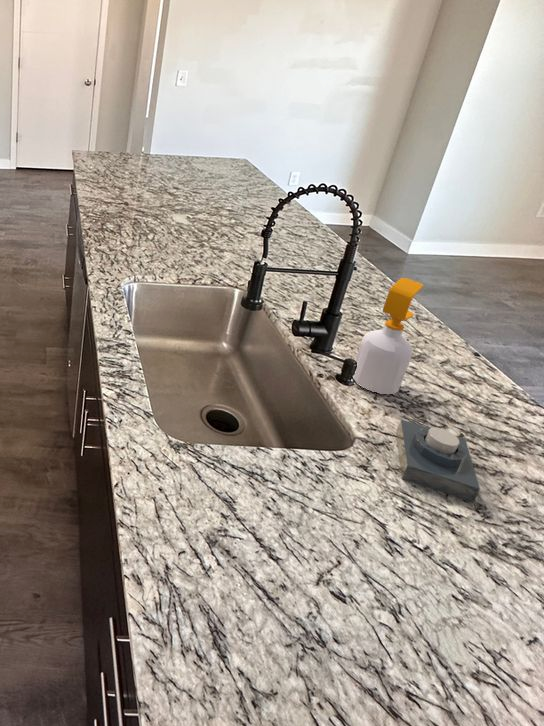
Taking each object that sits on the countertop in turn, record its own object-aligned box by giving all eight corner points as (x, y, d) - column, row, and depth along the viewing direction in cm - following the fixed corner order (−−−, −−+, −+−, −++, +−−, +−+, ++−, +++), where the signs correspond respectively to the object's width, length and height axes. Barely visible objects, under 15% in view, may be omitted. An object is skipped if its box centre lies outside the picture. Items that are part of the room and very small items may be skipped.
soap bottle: (405, 386, 116) (445, 286, 106) (385, 401, 111) (424, 297, 101) (363, 365, 122) (396, 268, 112) (342, 378, 117) (375, 279, 107)
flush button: (453, 441, 94) (457, 432, 93) (457, 458, 91) (461, 449, 90) (423, 432, 96) (427, 424, 95) (426, 448, 93) (430, 439, 92)
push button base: (459, 451, 98) (468, 430, 96) (472, 503, 88) (484, 480, 86) (395, 432, 103) (403, 411, 101) (401, 479, 92) (410, 457, 90)
